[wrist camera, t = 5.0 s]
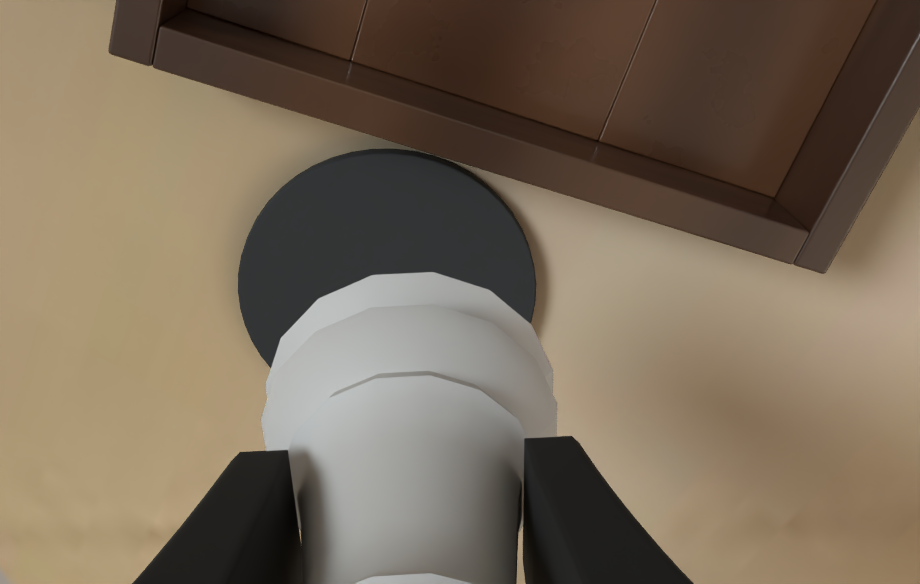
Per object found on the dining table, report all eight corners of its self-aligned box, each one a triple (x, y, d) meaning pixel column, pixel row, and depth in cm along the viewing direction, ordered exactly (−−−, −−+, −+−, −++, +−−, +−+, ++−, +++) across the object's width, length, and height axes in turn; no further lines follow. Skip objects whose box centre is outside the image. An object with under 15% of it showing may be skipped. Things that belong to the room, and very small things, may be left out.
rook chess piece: (521, 226, 13) (659, 698, 6) (572, 464, 15) (724, 1039, 7) (229, 294, 13) (-2, 829, 6) (319, 519, 15) (229, 1124, 8)
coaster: (577, 199, 20) (581, 205, 20) (478, 438, 23) (480, 447, 22) (278, 107, 19) (276, 112, 18) (213, 372, 22) (210, 381, 21)
